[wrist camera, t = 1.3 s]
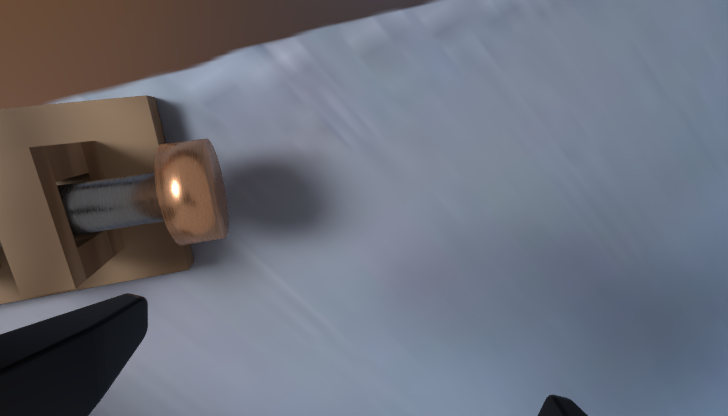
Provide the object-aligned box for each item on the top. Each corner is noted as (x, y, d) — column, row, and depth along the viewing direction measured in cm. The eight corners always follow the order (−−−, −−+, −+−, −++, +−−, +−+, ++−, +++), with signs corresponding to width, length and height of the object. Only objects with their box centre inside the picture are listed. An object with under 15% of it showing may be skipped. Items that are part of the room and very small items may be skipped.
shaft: (-20, 264, 19) (-117, 311, 14) (-58, 168, 18) (-177, 184, 13) (232, 223, 22) (220, 252, 17) (214, 136, 20) (196, 140, 16)
